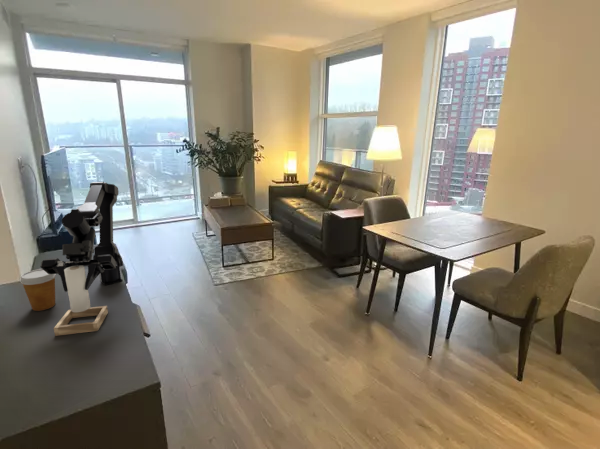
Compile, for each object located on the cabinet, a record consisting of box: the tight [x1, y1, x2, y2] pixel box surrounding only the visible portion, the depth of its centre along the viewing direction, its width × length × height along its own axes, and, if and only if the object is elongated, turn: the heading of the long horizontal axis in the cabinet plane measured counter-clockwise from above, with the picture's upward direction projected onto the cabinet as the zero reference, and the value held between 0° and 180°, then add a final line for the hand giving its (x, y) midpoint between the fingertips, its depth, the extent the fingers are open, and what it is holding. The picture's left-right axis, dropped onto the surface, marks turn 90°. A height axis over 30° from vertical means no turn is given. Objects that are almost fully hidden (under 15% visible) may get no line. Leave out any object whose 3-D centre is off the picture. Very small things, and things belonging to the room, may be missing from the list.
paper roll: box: [64, 265, 91, 312], centre depth 100 cm, size 5×5×13 cm
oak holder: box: [53, 305, 109, 337], centre depth 102 cm, size 11×11×2 cm
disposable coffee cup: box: [19, 268, 57, 312], centre depth 111 cm, size 10×10×12 cm
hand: (76, 290), depth 98 cm, fingers closed on paper roll, 5 cm apart
